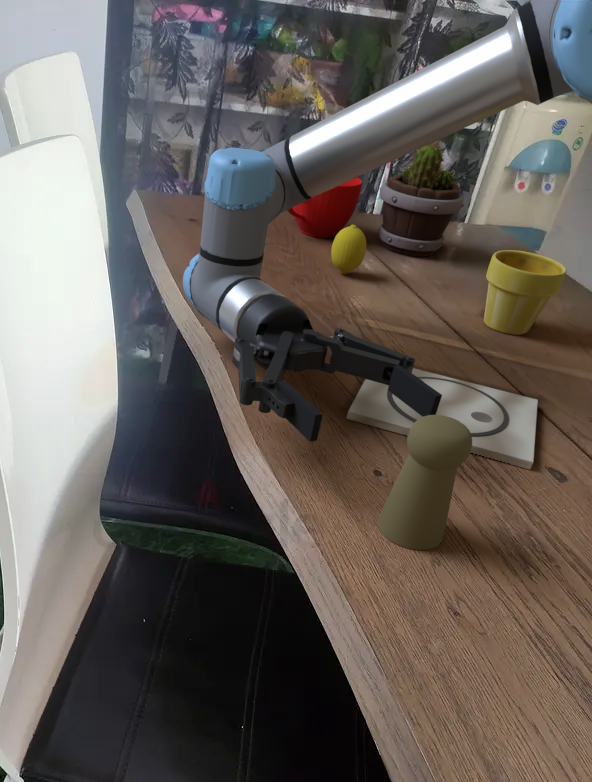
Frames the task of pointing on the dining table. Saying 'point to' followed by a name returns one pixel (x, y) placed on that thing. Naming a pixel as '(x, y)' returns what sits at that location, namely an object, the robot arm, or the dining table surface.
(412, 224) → the flowerpot
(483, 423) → the drawing sheet
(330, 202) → the ceramic cup
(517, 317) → the flower pot
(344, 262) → the lemon
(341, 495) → the dining table surface
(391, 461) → the dining table surface
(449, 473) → the olive pawn
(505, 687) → the dining table surface
